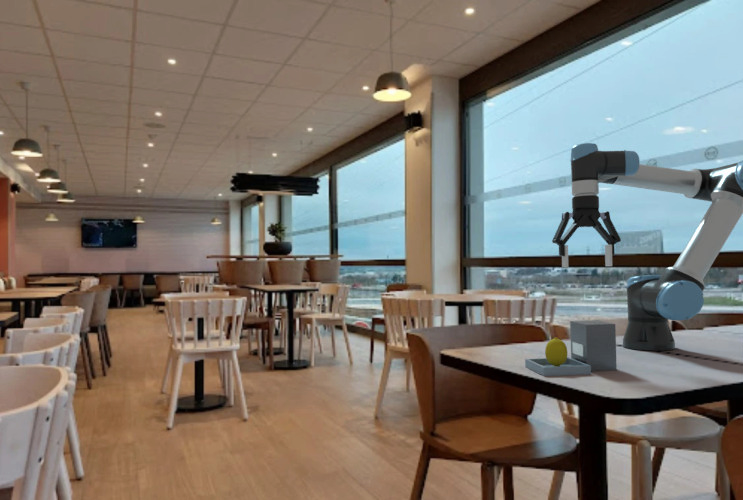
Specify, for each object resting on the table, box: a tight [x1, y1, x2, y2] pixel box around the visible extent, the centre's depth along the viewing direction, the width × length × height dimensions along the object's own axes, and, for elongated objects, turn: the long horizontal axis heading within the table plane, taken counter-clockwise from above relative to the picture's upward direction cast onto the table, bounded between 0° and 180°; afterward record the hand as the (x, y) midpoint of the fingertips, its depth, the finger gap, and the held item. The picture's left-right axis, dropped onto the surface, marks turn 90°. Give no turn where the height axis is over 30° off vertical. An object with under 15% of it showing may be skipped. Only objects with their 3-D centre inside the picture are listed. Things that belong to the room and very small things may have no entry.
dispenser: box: [569, 319, 617, 372], centre depth 147 cm, size 9×9×12 cm
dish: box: [524, 356, 592, 377], centre depth 144 cm, size 12×12×2 cm
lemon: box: [544, 337, 568, 367], centre depth 144 cm, size 6×6×8 cm
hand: (587, 266), depth 164 cm, fingers open, 13 cm apart
